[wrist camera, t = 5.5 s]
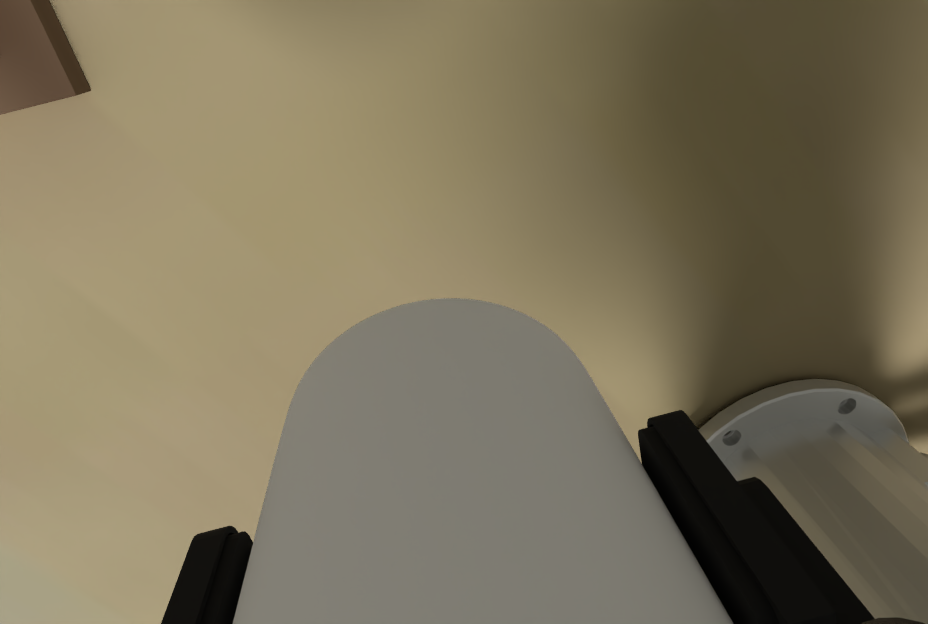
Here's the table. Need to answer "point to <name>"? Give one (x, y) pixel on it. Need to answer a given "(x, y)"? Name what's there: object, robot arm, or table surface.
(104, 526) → the table surface
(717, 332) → the table surface
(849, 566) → the robot arm
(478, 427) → the can
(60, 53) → the holder
